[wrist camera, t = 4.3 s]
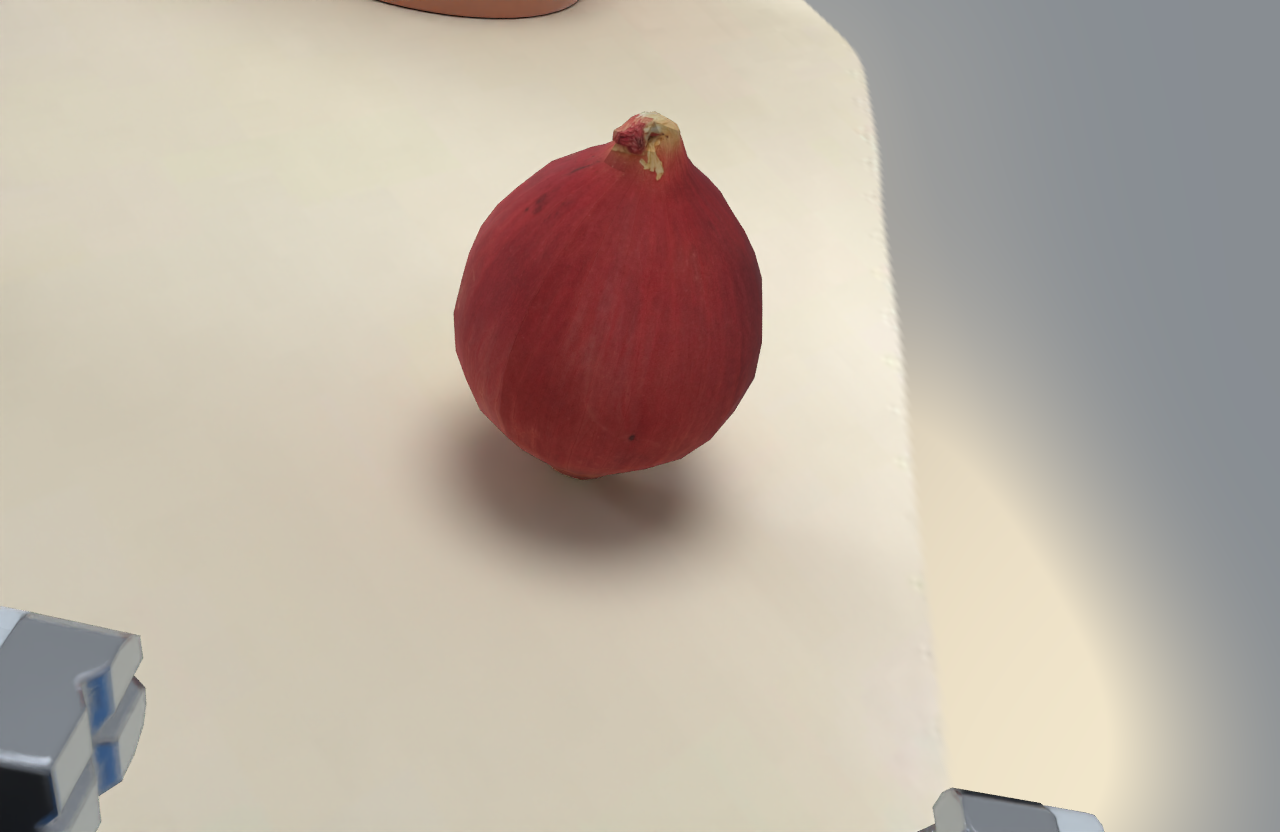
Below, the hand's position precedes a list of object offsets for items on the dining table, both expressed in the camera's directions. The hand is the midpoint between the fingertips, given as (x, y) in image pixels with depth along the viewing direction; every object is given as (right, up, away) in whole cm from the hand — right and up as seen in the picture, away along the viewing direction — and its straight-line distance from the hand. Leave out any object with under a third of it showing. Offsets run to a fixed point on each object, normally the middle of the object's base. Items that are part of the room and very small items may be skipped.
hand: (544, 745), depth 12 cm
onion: (0, +2, +13) cm, 13 cm away
